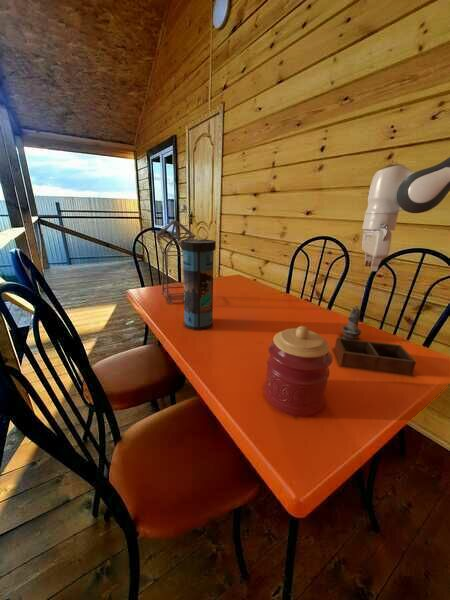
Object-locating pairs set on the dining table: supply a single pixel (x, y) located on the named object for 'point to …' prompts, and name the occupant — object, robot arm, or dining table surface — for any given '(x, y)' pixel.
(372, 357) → the holder
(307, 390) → the kitchen canister
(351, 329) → the grey stone statuette
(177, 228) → the geometric lantern
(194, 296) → the advertising column
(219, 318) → the dining table surface
